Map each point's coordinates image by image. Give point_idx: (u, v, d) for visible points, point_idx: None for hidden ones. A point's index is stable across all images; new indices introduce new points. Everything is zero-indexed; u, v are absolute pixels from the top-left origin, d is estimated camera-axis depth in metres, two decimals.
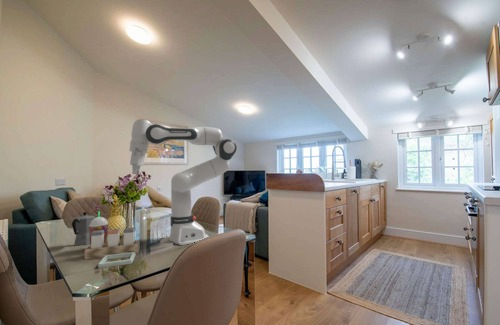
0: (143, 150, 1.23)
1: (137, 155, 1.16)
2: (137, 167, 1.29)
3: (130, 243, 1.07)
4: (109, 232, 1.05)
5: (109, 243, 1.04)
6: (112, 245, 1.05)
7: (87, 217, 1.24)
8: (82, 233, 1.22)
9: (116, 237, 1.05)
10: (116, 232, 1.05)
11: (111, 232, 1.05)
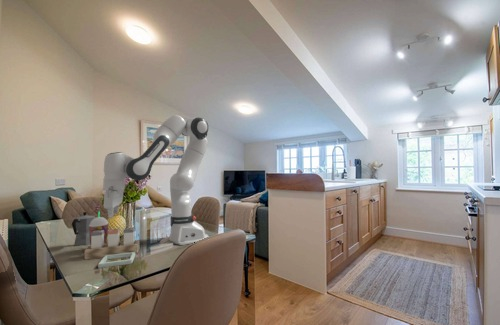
0: (119, 188, 1.05)
1: (111, 196, 0.99)
2: (115, 206, 1.12)
3: (130, 243, 1.07)
4: (109, 232, 1.05)
5: (109, 243, 1.04)
6: (112, 245, 1.05)
7: (87, 217, 1.24)
8: (82, 233, 1.22)
9: (116, 237, 1.05)
10: (116, 232, 1.05)
11: (111, 232, 1.05)
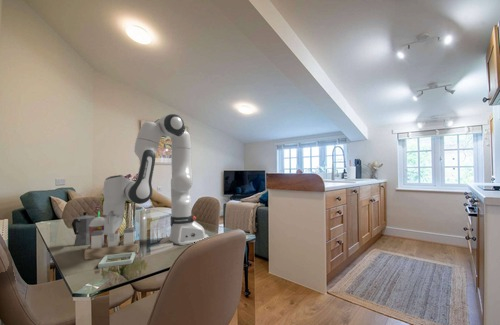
0: (119, 212, 1.05)
1: (111, 222, 0.98)
2: None
3: (130, 243, 1.07)
4: None
5: (109, 243, 1.04)
6: (112, 245, 1.05)
7: (87, 217, 1.24)
8: (82, 233, 1.22)
9: (116, 237, 1.05)
10: (116, 232, 1.05)
11: None
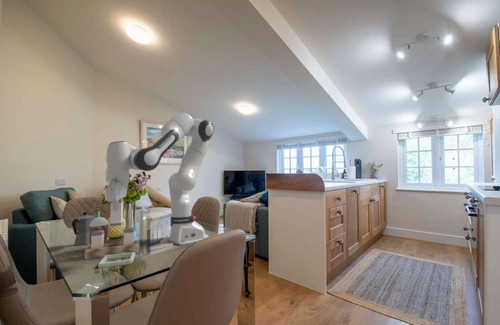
0: (123, 179, 0.97)
1: (115, 188, 0.91)
2: None
3: (130, 243, 1.07)
4: None
5: (112, 212, 0.97)
6: (115, 215, 0.97)
7: (87, 217, 1.24)
8: (82, 233, 1.22)
9: (119, 207, 0.98)
10: (120, 201, 0.98)
11: None
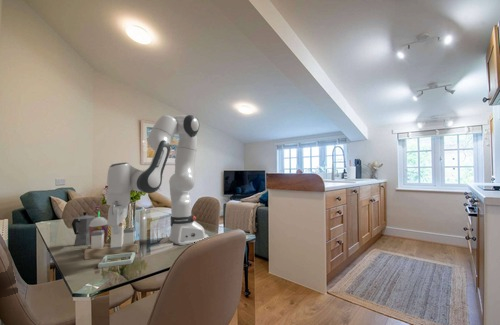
0: (124, 202, 0.96)
1: (116, 213, 0.89)
2: None
3: (130, 243, 1.07)
4: None
5: (112, 236, 0.95)
6: (115, 238, 0.96)
7: (87, 217, 1.24)
8: (82, 233, 1.22)
9: (120, 230, 0.96)
10: (120, 224, 0.96)
11: None
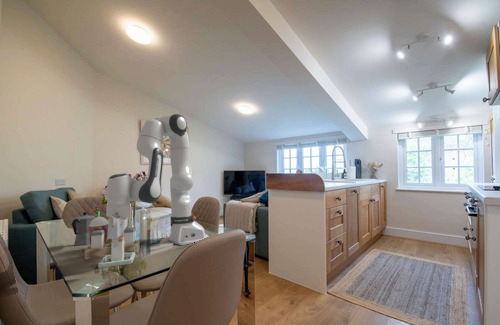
0: (124, 214, 0.96)
1: (116, 225, 0.89)
2: None
3: (130, 243, 1.07)
4: None
5: (112, 252, 0.95)
6: (116, 254, 0.96)
7: (87, 217, 1.24)
8: (82, 233, 1.22)
9: (120, 245, 0.96)
10: (120, 240, 0.96)
11: None
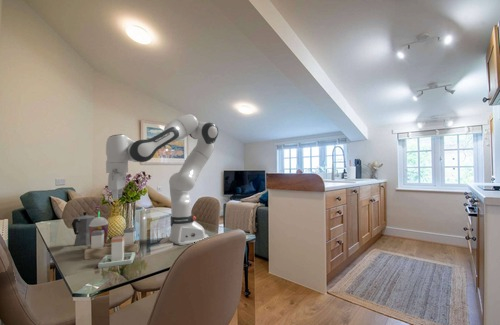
0: (122, 170, 1.04)
1: (115, 178, 0.97)
2: (119, 190, 1.10)
3: (130, 243, 1.07)
4: (113, 240, 0.95)
5: (112, 252, 0.95)
6: (116, 254, 0.96)
7: (87, 217, 1.24)
8: (82, 233, 1.22)
9: (120, 245, 0.96)
10: (120, 240, 0.96)
11: (115, 240, 0.96)
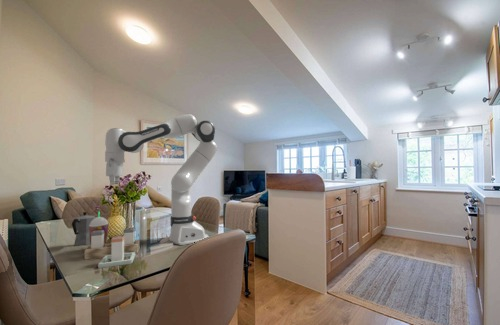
0: (119, 159, 1.19)
1: (112, 165, 1.13)
2: (116, 177, 1.26)
3: (130, 243, 1.07)
4: (113, 240, 0.95)
5: (112, 252, 0.95)
6: (116, 254, 0.96)
7: (87, 217, 1.24)
8: (82, 233, 1.22)
9: (120, 245, 0.96)
10: (120, 240, 0.96)
11: (115, 240, 0.96)
